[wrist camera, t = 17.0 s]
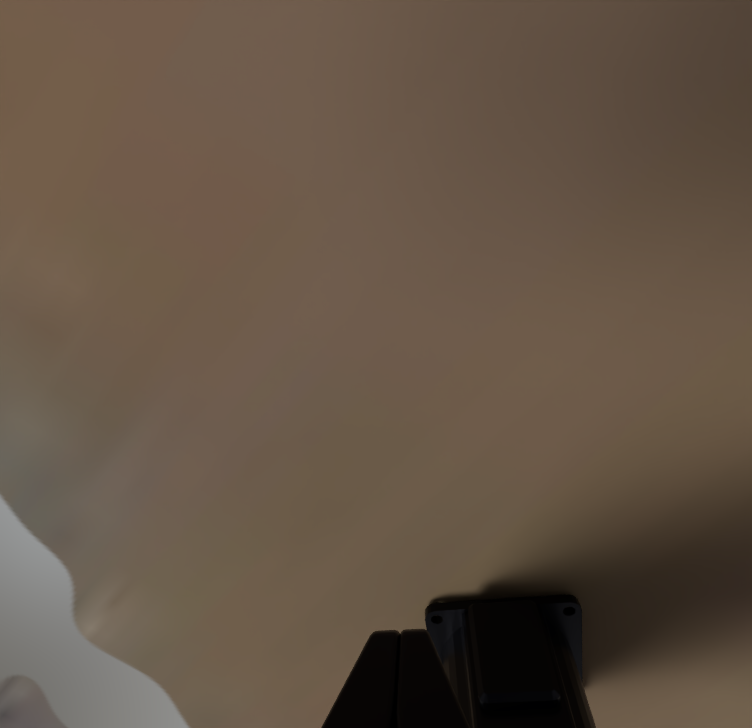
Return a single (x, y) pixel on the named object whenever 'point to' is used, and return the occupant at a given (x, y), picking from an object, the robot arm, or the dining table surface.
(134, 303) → the dining table surface
